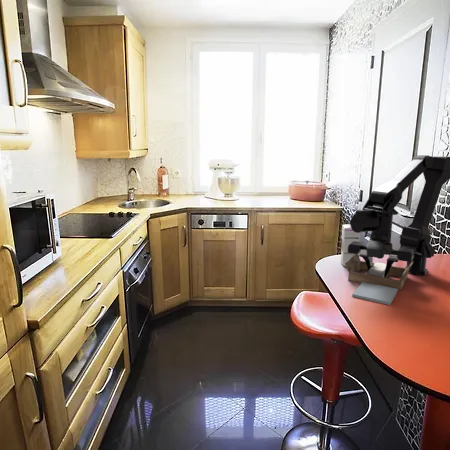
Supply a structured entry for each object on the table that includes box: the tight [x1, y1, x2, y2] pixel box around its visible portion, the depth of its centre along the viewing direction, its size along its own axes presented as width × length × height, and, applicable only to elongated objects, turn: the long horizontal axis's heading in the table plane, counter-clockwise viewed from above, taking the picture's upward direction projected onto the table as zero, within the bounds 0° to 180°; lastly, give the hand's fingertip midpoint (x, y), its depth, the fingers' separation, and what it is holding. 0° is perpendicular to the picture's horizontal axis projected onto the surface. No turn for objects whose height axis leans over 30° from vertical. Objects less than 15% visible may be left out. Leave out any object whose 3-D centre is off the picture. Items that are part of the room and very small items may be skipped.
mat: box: [351, 282, 399, 306], centre depth 99 cm, size 11×10×1 cm
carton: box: [345, 253, 414, 291], centre depth 110 cm, size 13×18×6 cm
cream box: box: [367, 262, 389, 278], centre depth 110 cm, size 10×4×4 cm, turn 144°
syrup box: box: [340, 223, 361, 267], centre depth 124 cm, size 6×6×14 cm
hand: (377, 276), depth 110 cm, fingers closed on cream box, 4 cm apart
